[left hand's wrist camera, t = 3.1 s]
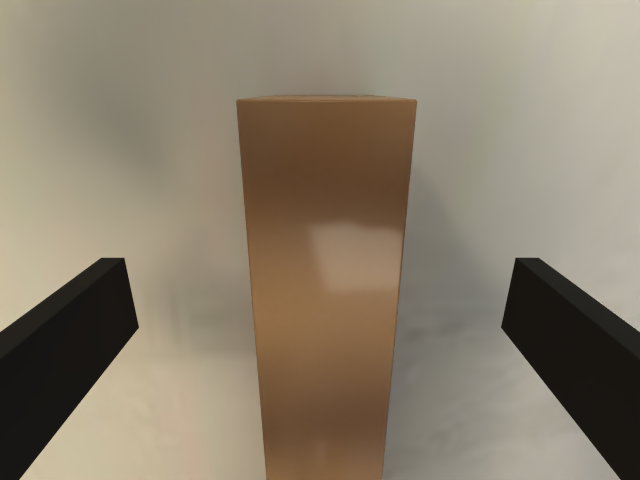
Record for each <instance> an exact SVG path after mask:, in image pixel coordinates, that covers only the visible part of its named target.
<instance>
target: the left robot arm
mask: <svg viewBox="0 0 640 480" xmlns="http://www.w3.org/2000/svg"><path fill="white" fill-rule="evenodd" d="M138 328H139V326H138V321H137V316H136V311H135V307H134V302H133V297H132V292H131V288H130V283H129V278H128V273H127V269H126V264H125V259H124V258H101V259H99V260H98V261H96V262H95V263H94V264H92V265H91V266H90V267H88V268H87V269H86V270H84V271H83V272H81V273H80V274H79V275H77V276H76V277H75V278H73V279H72V280H71V281H69V282H68V283H67V284H65V285H64V286H62V287H61V288H60V289H58V290H57V291H56V292H54V293H53V294H52V295H50V296H49V297H47V298H46V299H45V300H43V301H42V302H41V303H39V304H38V305H37V306H35V307H34V308H33V309H31V310H30V311H28V312H27V313H26V314H24V315H23V316H22V317H20V318H19V319H18V320H16V321H15V322H13V323H12V324H11V325H9V326H8V327H7V328H5V329H4V330H3V331H1V332H0V480H19V479H20V478H21V477H22V475H23V474H24V473H25V472H26V470H27V469H28V468H29V467H30V465H31V464H32V463H33V461H34V460H35V459H36V458H37V456H38V455H39V454H40V453H41V451H42V450H43V449H44V448H45V446H46V445H47V444H48V442H49V441H50V440H51V439H52V437H53V436H54V435H55V434H56V432H57V431H58V430H59V428H60V427H61V426H62V425H63V423H64V422H65V421H66V420H67V418H68V417H69V416H70V414H71V413H72V412H73V411H74V409H75V408H76V407H77V406H78V404H79V403H80V402H81V400H82V399H83V398H84V397H85V395H86V394H87V393H88V392H89V390H90V389H91V388H92V386H93V385H94V384H95V383H96V381H97V380H98V379H99V378H100V376H101V375H102V374H103V372H104V371H105V370H106V369H107V367H108V366H109V365H110V364H111V362H112V361H113V360H114V358H115V357H116V356H117V355H118V353H119V352H120V351H121V350H122V348H123V347H124V346H125V344H126V343H127V342H128V341H129V339H130V338H131V337H132V336H133V334H134V333H135V332H136V330H137V329H138ZM501 328H502V329H503V330H504V332H505V333H506V334H507V336H508V337H509V338H510V339H511V341H512V342H513V343H514V344H515V346H516V347H517V348H518V350H519V351H520V352H521V353H522V355H523V356H524V357H525V358H526V360H527V361H528V362H529V364H530V365H531V366H532V367H533V369H534V370H535V371H536V372H537V374H538V375H539V376H540V378H541V379H542V380H543V381H544V383H545V384H546V385H547V386H548V388H549V389H550V390H551V392H552V393H553V394H554V395H555V397H556V398H557V399H558V400H559V402H560V403H561V404H562V406H563V407H564V408H565V409H566V411H567V412H568V413H569V414H570V416H571V417H572V418H573V420H574V421H575V422H576V423H577V425H578V426H579V427H580V428H581V430H582V431H583V432H584V434H585V435H586V436H587V437H588V439H589V440H590V441H591V442H592V444H593V445H594V446H595V448H596V449H597V450H598V451H599V453H600V454H601V455H602V456H603V458H604V459H605V460H606V461H607V463H608V464H609V465H610V467H611V468H612V469H613V470H614V472H615V473H616V474H617V475H618V477H619V478H620V479H621V480H640V332H639V331H637V330H636V329H635V328H633V327H632V326H631V325H629V324H628V323H627V322H625V321H624V320H622V319H621V318H620V317H618V316H617V315H616V314H614V313H613V312H612V311H610V310H609V309H607V308H606V307H605V306H603V305H602V304H601V303H599V302H598V301H597V300H595V299H594V298H593V297H591V296H590V295H588V294H587V293H586V292H584V291H583V290H582V289H580V288H579V287H578V286H576V285H575V284H573V283H572V282H571V281H569V280H568V279H567V278H565V277H564V276H563V275H561V274H560V273H559V272H557V271H556V270H554V269H553V268H552V267H550V266H549V265H548V264H546V263H545V262H544V261H542V260H541V259H539V258H516V259H515V264H514V269H513V273H512V278H511V283H510V288H509V292H508V297H507V302H506V307H505V311H504V316H503V321H502V326H501Z"/></svg>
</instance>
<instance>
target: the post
mask: <svg viewBox="0 0 640 480" xmlns="http://www.w3.org/2000/svg"><path fill="white" fill-rule="evenodd" d="M236 105H237V117H238V130H239V142H240V155H241V167H242V180H243V192H244V205H245V217H246V230H247V242H248V255H249V267H250V280H251V292H252V304H253V317H254V329H255V342H256V354H257V367H258V379H259V392H260V404H261V417H262V429H263V442H264V454H265V466H266V479H267V480H382V473H383V462H384V451H385V440H386V430H387V419H388V408H389V397H390V387H391V376H392V365H393V354H394V344H395V333H396V322H397V311H398V300H399V290H400V279H401V268H402V257H403V247H404V236H405V225H406V214H407V204H408V193H409V182H410V171H411V161H412V150H413V139H414V128H415V117H416V107H417V101H416V100H415V99H406V98H395V97H385V96H374V95H275V96H265V97H256V98H246V99H238V100H237V101H236Z"/></svg>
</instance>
